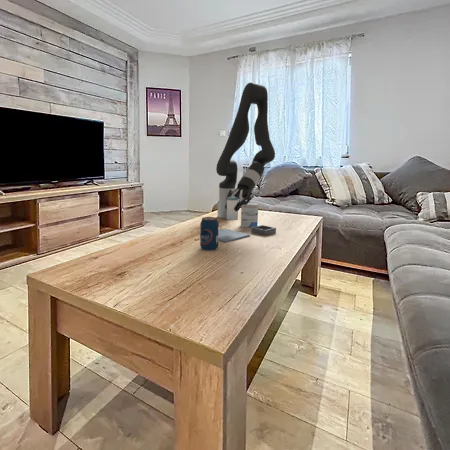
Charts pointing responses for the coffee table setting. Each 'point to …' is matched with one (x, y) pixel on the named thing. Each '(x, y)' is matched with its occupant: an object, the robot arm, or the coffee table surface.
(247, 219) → the ink box
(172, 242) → the coffee table surface
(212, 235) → the soda can
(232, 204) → the ball
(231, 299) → the coffee table surface
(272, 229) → the sleeve
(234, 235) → the slate board
